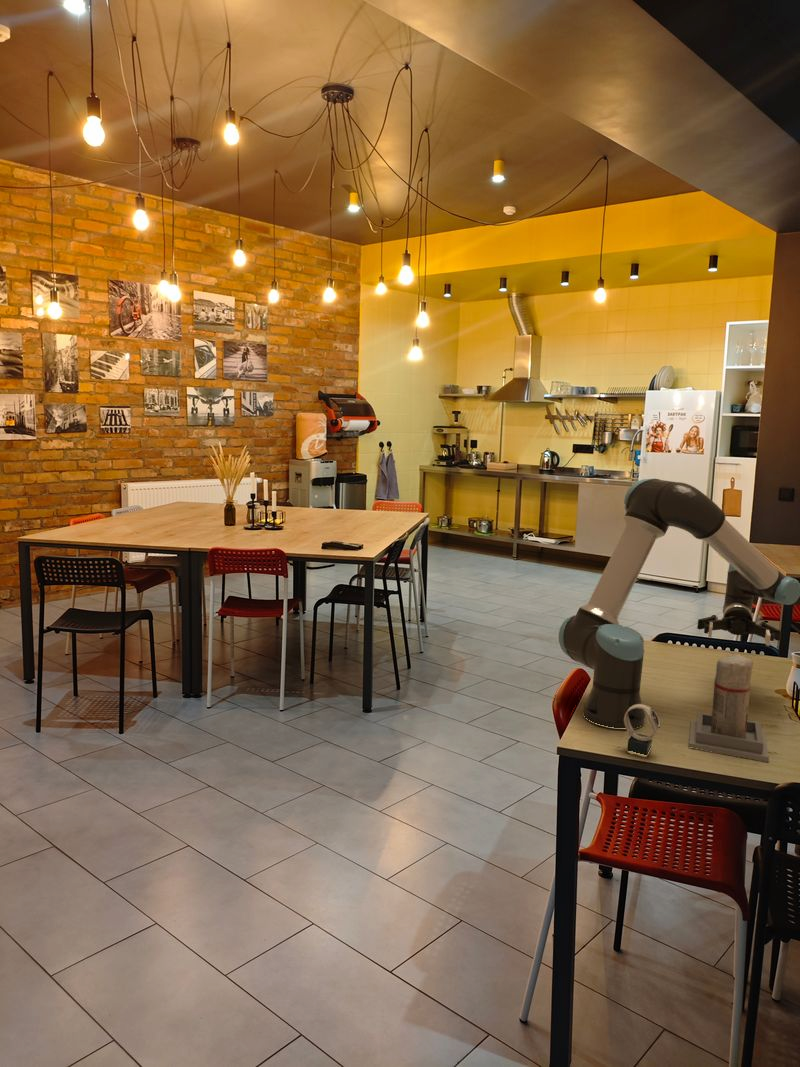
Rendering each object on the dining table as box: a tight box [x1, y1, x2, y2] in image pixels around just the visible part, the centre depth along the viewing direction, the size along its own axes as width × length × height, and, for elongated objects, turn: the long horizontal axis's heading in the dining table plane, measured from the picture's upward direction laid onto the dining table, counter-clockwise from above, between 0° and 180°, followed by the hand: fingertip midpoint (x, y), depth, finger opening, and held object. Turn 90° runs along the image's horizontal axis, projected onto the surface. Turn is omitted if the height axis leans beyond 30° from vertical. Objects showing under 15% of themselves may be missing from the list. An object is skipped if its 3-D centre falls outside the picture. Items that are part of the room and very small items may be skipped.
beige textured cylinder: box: [711, 653, 754, 739], centre depth 187 cm, size 8×8×20 cm
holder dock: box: [688, 711, 770, 763], centre depth 188 cm, size 17×17×4 cm
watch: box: [624, 703, 661, 755], centre depth 180 cm, size 6×8×11 cm
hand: (738, 636), depth 199 cm, fingers open, 13 cm apart
